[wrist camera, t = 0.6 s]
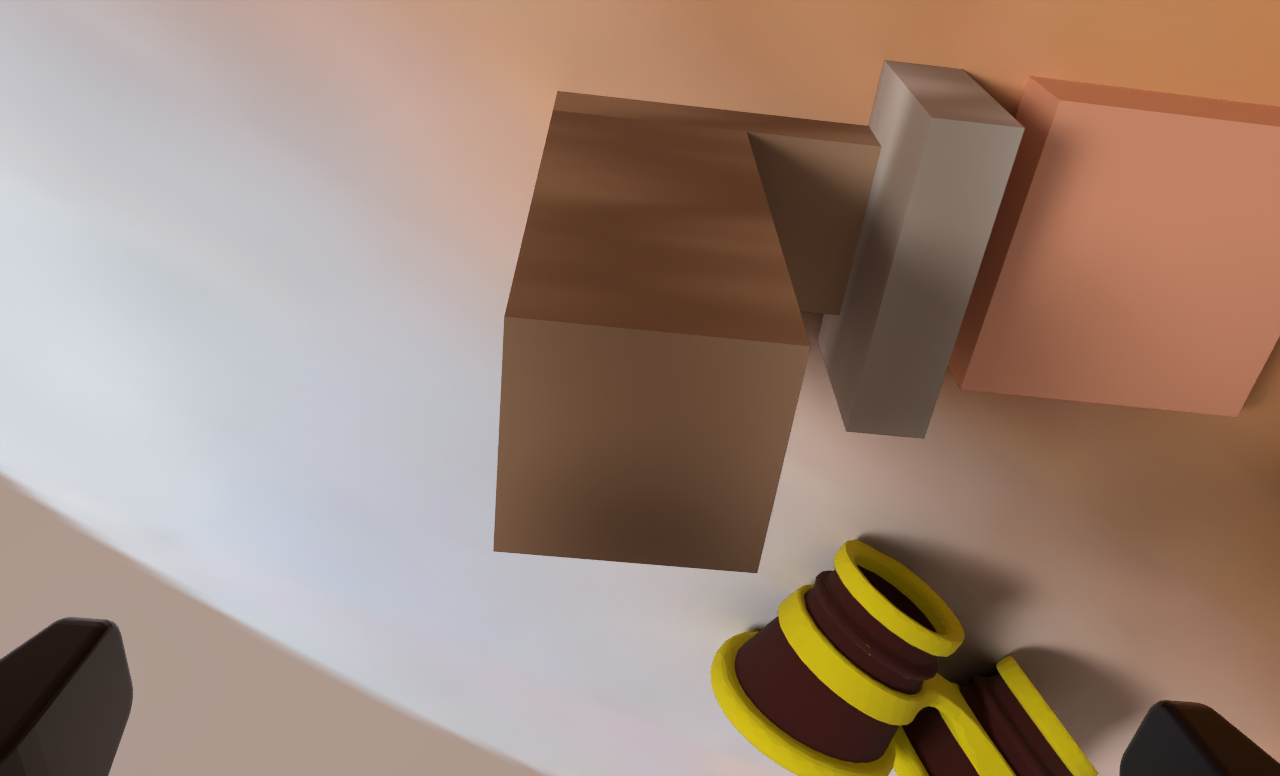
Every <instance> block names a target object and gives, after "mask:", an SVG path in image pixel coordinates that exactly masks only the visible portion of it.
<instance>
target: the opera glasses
mask: <svg viewBox="0 0 1280 776" xmlns="http://www.w3.org/2000/svg"><path fill="white" fill-rule="evenodd" d="M834 565H835V570H834V571H823V572H821V573H820V574H819V575H818V576H817V577H816V582H815V585H805V586H803V587H801V588H799V589H798V590H796V591H795V592H794V593H792V594H791V595H790V596H789V597H788V598H786V599H785V600H784V601H783V602H782V603H781V604H780V605H779V609H778V617H776V618H775V619H774V620H773V621H771V622H770V623H769V624H768V625H766V626H765V627H764V628H763V629H762V630H760V631H759V632H758V631H756V632H744V633H741V634H738V635H735V636H733V637H732V638H730V639H728V640H727V641H725V643H724V644H723V645H722V646H721V647H720V649H719V650H718V651H717V652H716V654H715V657H714V660H713V663H712V666H711V681H712V689H713V691H714V694H715V696H716V699H717V701H718V703H719V705H720V707H721V708H722V710H723V712H724V713H725V715H726V716H727V718H728V719H729V720H730V721H731V723H732V724H733V725H734V726H735V727H736V729H737V730H738V731H739V732H740V733H741V734H742V735H743V736H744V737H745V738H746V739H747V740H748V741H749V742H750V743H751V744H752V745H753V746H755V747H756V748H757V749H758V750H759V751H760V752H762V753H763V754H765V755H766V756H767V757H769V758H770V759H771V760H773V761H774V762H776V763H777V764H778V765H780V766H782V767H783V768H785V769H787V770H789V771H791V772H792V773H794V774H796V775H798V776H888V775H889V773H890V771H891V770H892V768H894V770H895V771H896V773H897V775H898V776H1097V775H1098V772H1097V771H1096V770H1095V768H1094V767H1093V765H1092V764H1091V763H1090V761H1089V760H1088V759H1087V757H1086V756H1085V755H1084V753H1083V752H1082V750H1081V749H1080V748H1079V746H1078V745H1077V744H1076V742H1075V741H1074V740H1073V738H1072V737H1071V736H1070V734H1069V733H1068V732H1067V730H1066V729H1065V727H1064V726H1063V725H1062V723H1061V722H1060V721H1059V719H1058V718H1057V717H1056V715H1055V714H1054V712H1053V711H1052V710H1051V708H1050V707H1049V706H1048V704H1047V703H1046V702H1045V700H1044V699H1043V698H1042V696H1041V695H1040V693H1039V692H1038V691H1037V689H1036V688H1035V687H1034V685H1033V684H1032V683H1031V681H1030V680H1029V679H1028V677H1027V676H1026V675H1025V673H1024V672H1023V670H1022V669H1021V668H1020V666H1019V665H1018V664H1017V662H1016V661H1015V660H1014V658H1013V657H1012V656H1011V655H1009V656H1007V657H1005V658H1004V659H1002V660H1000V661H999V662H998V663H997V664H996V668H997V670H998V672H999V674H996V675H993V676H991V677H988V678H984V677H981V676H978V675H977V676H974V677H973V682H972V684H970V685H968V686H965V687H962V688H961V687H960V686H959V685H957V684H956V683H951V682H949V681H947V680H946V679H944V678H943V677H942V676H941V675H939V674H938V673H937V667H938V666H937V661H936V658H937V657H938V656H943V657H948V656H949V655H951V654H953V653H954V652H955V651H956V650H957V648H958V647H959V646H960V645H961V644H962V642H963V640H964V630H963V628H962V626H961V624H960V622H959V620H958V619H957V617H956V616H955V615H954V613H953V612H952V610H951V609H950V608H949V606H948V605H947V604H946V603H945V602H944V601H943V600H942V599H941V598H940V597H939V596H938V594H937V593H935V592H934V591H933V590H932V589H931V588H930V587H929V586H928V585H927V584H926V583H925V582H924V581H923V580H922V579H920V578H919V577H918V576H917V575H916V574H914V573H913V572H912V571H911V570H909V569H908V568H907V567H905V566H904V565H903V564H901V563H900V562H898V561H896V560H894V559H893V558H891V557H889V556H887V555H885V554H883V553H881V552H879V551H877V550H875V549H873V548H872V547H871V546H869V545H867V544H865V543H864V542H861V541H857V540H851V541H847V542H846V543H845V544H844V545H843V546H842V547H841V548H840V550H839V551H838V552H837V554H836V555H835V558H834ZM743 690H744V691H743ZM751 701H752V702H751ZM786 733H787V734H786ZM835 758H836V759H835ZM838 759H839V760H838Z"/></svg>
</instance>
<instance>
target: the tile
mask: <svg viewBox="0 0 1280 776" xmlns="http://www.w3.org/2000/svg"><path fill="white" fill-rule="evenodd" d="M1015 119H1016V120H1017V121H1018V122H1019V123H1020V124H1021V125H1022V126H1023V127H1024V128H1025V129H1024V132H1023V135H1022V138H1021V142H1020V145H1019V148H1018V151H1017V154H1016V157H1015V160H1014V163H1013V166H1012V169H1011V172H1010V175H1009V179H1008V182H1007V185H1006V188H1005V191H1004V194H1003V197H1002V200H1001V203H1000V206H999V209H998V212H997V216H996V219H995V222H994V225H993V228H992V231H991V234H990V237H989V240H988V243H987V246H986V249H985V252H984V256H983V259H982V262H981V265H980V268H979V271H978V274H977V277H976V280H975V283H974V286H973V289H972V293H971V296H970V299H969V302H968V305H967V308H966V311H965V314H964V317H963V320H962V323H961V326H960V329H959V333H958V336H957V339H956V342H955V345H954V348H953V351H952V354H951V357H950V360H949V363H948V367H949V369H950V371H951V373H952V375H953V377H954V379H955V380H956V382H957V384H958V386H959V388H960V390H968V391H978V392H988V393H998V394H1008V395H1018V396H1029V397H1039V398H1049V399H1059V400H1069V401H1079V402H1089V403H1099V404H1110V405H1120V406H1130V407H1140V408H1150V409H1160V410H1170V411H1180V412H1191V413H1201V414H1211V415H1221V416H1231V417H1237V416H1238V414H1239V413H1240V411H1241V409H1242V407H1243V405H1244V403H1245V401H1246V399H1247V397H1248V395H1249V394H1250V392H1251V390H1252V388H1253V386H1254V384H1255V382H1256V380H1257V378H1258V376H1259V374H1260V373H1261V371H1262V369H1263V367H1264V365H1265V363H1266V361H1267V359H1268V357H1269V355H1270V354H1271V352H1272V350H1273V348H1274V346H1275V344H1276V342H1277V340H1278V338H1279V336H1280V107H1275V106H1267V105H1258V104H1250V103H1242V102H1234V101H1226V100H1218V99H1210V98H1202V97H1194V96H1186V95H1178V94H1170V93H1162V92H1154V91H1146V90H1138V89H1130V88H1122V87H1114V86H1105V85H1097V84H1089V83H1081V82H1073V81H1065V80H1057V79H1049V78H1041V77H1033V76H1029V77H1028V80H1027V83H1026V86H1025V89H1024V92H1023V95H1022V98H1021V101H1020V105H1019V108H1018V111H1017V114H1016V117H1015Z"/></svg>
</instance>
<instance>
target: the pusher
mask: <svg viewBox="0 0 1280 776" xmlns="http://www.w3.org/2000/svg"><path fill="white" fill-rule="evenodd" d="M1024 129H1025V128H1024V127H1023V126H1022V125H1021V124H1020V123H1019V122H1018V121H1017V120H1016V119H1015V118H1014V117H1013V116H1012V115H1010V114H1009V113H1008V112H1007V111H1006V110H1005V109H1004V108H1003V107H1002V106H1001V105H1000V104H999V103H998V102H997V101H996V100H995V99H994V98H992V97H991V96H990V95H989V94H988V93H987V92H986V91H985V90H984V89H983V88H982V87H981V86H980V85H979V84H978V83H977V82H976V81H975V80H973V79H972V78H971V77H970V76H969V75H968V74H967V73H966V72H965V71H964V70H962V69H954V68H945V67H937V66H928V65H919V64H911V63H902V62H894V61H885V60H884V65H883V69H882V73H881V77H880V81H879V85H878V90H877V94H876V98H875V102H874V106H873V110H872V115H871V119H870V123H869V126H862V125H853V124H844V123H835V122H826V121H818V120H809V119H800V118H791V117H782V116H773V115H764V114H755V113H747V112H738V111H729V110H720V109H711V108H702V107H693V106H684V105H676V104H667V103H658V102H649V101H640V100H631V99H622V98H613V97H605V96H596V95H587V94H578V93H569V92H560V91H558V92H557V96H556V100H555V105H554V109H553V113H552V117H551V121H550V126H549V130H548V134H547V138H546V143H545V147H544V151H543V155H542V160H541V164H540V168H539V172H538V177H537V181H536V185H535V189H534V194H533V198H532V202H531V206H530V211H529V215H528V219H527V223H526V227H525V232H524V236H523V240H522V244H521V249H520V253H519V257H518V261H517V266H516V270H515V274H514V278H513V283H512V287H511V291H510V295H509V300H508V304H507V308H506V312H505V317H504V338H503V360H502V381H501V403H500V424H499V446H498V467H497V489H496V510H495V532H494V551H496V552H508V553H520V554H532V555H544V556H556V557H568V558H580V559H592V560H604V561H616V562H628V563H641V564H653V565H665V566H677V567H689V568H701V569H713V570H725V571H737V572H749V573H757V571H758V567H759V563H760V559H761V555H762V550H763V546H764V542H765V538H766V533H767V529H768V525H769V521H770V516H771V512H772V508H773V504H774V500H775V495H776V491H777V487H778V483H779V478H780V474H781V470H782V466H783V461H784V457H785V453H786V449H787V444H788V440H789V436H790V432H791V428H792V423H793V419H794V415H795V411H796V406H797V402H798V398H799V394H800V389H801V385H802V381H803V377H804V373H805V368H806V364H807V360H808V356H809V351H810V347H811V346H810V343H809V339H808V336H807V333H806V329H805V326H804V323H803V319H802V316H801V312H811V313H821V314H824V315H823V319H822V323H821V328H820V332H819V336H818V343H819V346H820V349H821V352H822V356H823V359H824V362H825V365H826V368H827V372H828V375H829V378H830V381H831V384H832V387H833V391H834V394H835V397H836V400H837V403H838V407H839V410H840V413H841V416H842V419H843V423H844V426H845V429H846V431H847V432H858V433H868V434H879V435H890V436H901V437H912V438H922V439H924V437H925V434H926V431H927V428H928V425H929V422H930V419H931V416H932V413H933V410H934V407H935V403H936V400H937V397H938V394H939V391H940V388H941V385H942V382H943V379H944V376H945V373H946V370H947V366H948V363H949V360H950V357H951V354H952V351H953V348H954V345H955V342H956V339H957V336H958V333H959V329H960V326H961V323H962V320H963V317H964V314H965V311H966V308H967V305H968V302H969V299H970V296H971V293H972V289H973V286H974V283H975V280H976V277H977V274H978V271H979V268H980V265H981V262H982V259H983V256H984V252H985V249H986V246H987V243H988V240H989V237H990V234H991V231H992V228H993V225H994V222H995V219H996V216H997V212H998V209H999V206H1000V203H1001V200H1002V197H1003V194H1004V191H1005V188H1006V185H1007V182H1008V179H1009V175H1010V172H1011V169H1012V166H1013V163H1014V160H1015V157H1016V154H1017V151H1018V148H1019V145H1020V142H1021V138H1022V135H1023V132H1024ZM800 311H801V312H800Z"/></svg>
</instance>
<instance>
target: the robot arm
mask: <svg viewBox="0 0 1280 776" xmlns="http://www.w3.org/2000/svg"><path fill="white" fill-rule="evenodd" d="M132 699H133V686H132V681H131V676H130V672H129V667H128V663H127V659H126V654H125V649H124V645H123V641H122V636H121V633H120V630H119V628H118V626H117V625H116V624H115V623H114V622H113V621H109V620H104V619H90V618H77V617H67V618H63V619H60V620H58V621H56V622H54V623H52V624H51V625H49V626H48V627H47V628H45V629H43V630H42V631H41V632H39V633H38V634H36V635H35V636H33V637H32V638H30V639H29V640H28V641H26V642H25V643H23V644H22V645H20V646H19V647H17V648H16V649H14V650H13V651H12V652H10V653H9V654H7V655H6V656H5V657H3V658H1V659H0V776H108V775H109V772H110V769H111V766H112V763H113V760H114V757H115V755H116V752H117V749H118V746H119V743H120V740H121V738H122V735H123V732H124V729H125V726H126V723H127V720H128V718H129V714H130V711H131V706H132ZM1120 776H1280V764H1279V763H1278V762H1277V761H1276V760H1274V759H1273V758H1272V757H1271V756H1270V755H1268V754H1267V753H1266V752H1265V751H1264V750H1262V749H1261V748H1260V747H1259V746H1257V745H1256V744H1255V743H1254V742H1253V741H1251V740H1250V739H1249V738H1248V737H1246V736H1245V735H1244V734H1243V733H1242V732H1240V731H1239V730H1238V729H1237V728H1236V727H1234V726H1233V725H1232V724H1231V723H1229V722H1228V721H1227V720H1226V719H1225V718H1223V717H1222V716H1221V715H1220V714H1218V713H1217V712H1216V711H1215V710H1213V709H1212V708H1210V707H1208V706H1206V705H1204V704H1201V703H1195V702H1182V701H1169V700H1164V701H1159V702H1157V703H1156V704H1154V705H1153V706H1152V707H1151V708H1150V709H1149V711H1148V713H1147V714H1146V716H1145V718H1144V719H1143V721H1142V723H1141V725H1140V726H1139V728H1138V730H1137V732H1136V733H1135V735H1134V737H1133V739H1132V740H1131V742H1130V744H1129V746H1128V747H1127V749H1126V751H1125V752H1124V754H1123V757H1122V760H1121V764H1120Z"/></svg>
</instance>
